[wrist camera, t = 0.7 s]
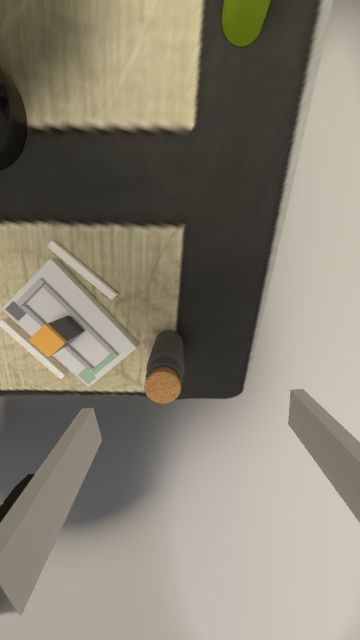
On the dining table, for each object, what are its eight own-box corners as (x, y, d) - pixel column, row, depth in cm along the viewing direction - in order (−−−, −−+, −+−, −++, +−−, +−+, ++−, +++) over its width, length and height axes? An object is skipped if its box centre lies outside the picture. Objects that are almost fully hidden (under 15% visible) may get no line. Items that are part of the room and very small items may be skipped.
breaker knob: (54, 328, 33) (28, 339, 28) (68, 315, 33) (44, 324, 27) (70, 343, 34) (48, 357, 28) (84, 331, 34) (64, 343, 28)
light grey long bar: (4, 322, 36) (-3, 324, 34) (8, 317, 35) (1, 319, 34) (64, 375, 39) (60, 379, 37) (69, 372, 39) (65, 375, 37)
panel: (11, 306, 35) (-3, 309, 32) (57, 259, 33) (46, 258, 30) (93, 381, 39) (86, 389, 37) (138, 344, 37) (135, 349, 34)
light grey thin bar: (53, 248, 32) (47, 247, 31) (57, 242, 32) (51, 240, 31) (114, 299, 35) (111, 300, 33) (118, 294, 34) (116, 294, 33)
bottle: (168, 361, 38) (161, 414, 24) (149, 342, 37) (130, 386, 22) (188, 344, 37) (194, 390, 23) (170, 324, 36) (164, 358, 21)
